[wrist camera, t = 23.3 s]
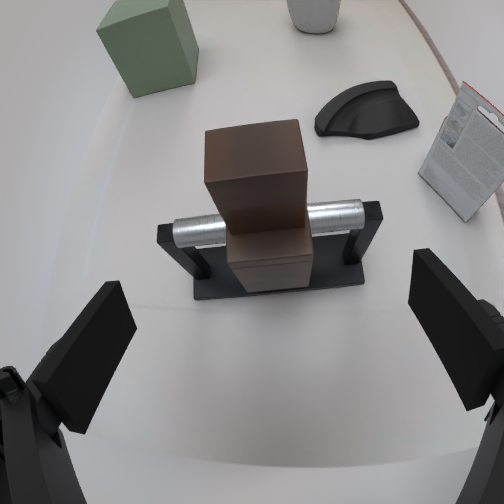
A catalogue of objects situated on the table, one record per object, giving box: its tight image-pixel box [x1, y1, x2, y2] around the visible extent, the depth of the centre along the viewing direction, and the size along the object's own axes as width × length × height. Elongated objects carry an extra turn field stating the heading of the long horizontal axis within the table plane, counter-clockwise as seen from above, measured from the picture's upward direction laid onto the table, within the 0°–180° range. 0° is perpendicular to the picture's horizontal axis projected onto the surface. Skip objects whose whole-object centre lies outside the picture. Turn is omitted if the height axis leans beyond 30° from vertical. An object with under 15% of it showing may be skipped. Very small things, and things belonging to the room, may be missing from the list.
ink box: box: [418, 81, 504, 222], centre depth 24 cm, size 4×8×15 cm, turn 37°
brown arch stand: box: [204, 119, 314, 292], centre depth 20 cm, size 5×6×14 cm
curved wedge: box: [314, 81, 420, 140], centre depth 35 cm, size 8×14×2 cm, turn 106°
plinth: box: [96, 0, 199, 98], centre depth 38 cm, size 10×10×14 cm
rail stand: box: [157, 199, 383, 300], centre depth 26 cm, size 16×5×11 cm, turn 94°
